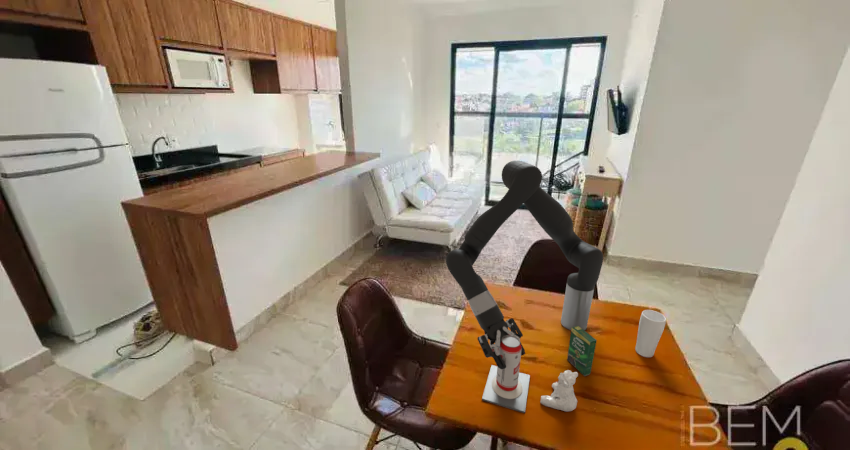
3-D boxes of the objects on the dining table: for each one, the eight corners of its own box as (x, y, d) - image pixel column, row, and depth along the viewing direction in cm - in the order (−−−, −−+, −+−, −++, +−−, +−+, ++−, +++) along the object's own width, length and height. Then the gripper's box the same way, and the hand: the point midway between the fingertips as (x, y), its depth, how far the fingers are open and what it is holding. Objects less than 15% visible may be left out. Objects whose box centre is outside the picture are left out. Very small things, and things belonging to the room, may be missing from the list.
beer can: (518, 380, 102) (523, 336, 97) (516, 395, 96) (521, 350, 91) (497, 374, 104) (501, 331, 99) (494, 390, 98) (498, 345, 93)
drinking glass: (659, 361, 110) (670, 323, 105) (636, 358, 111) (646, 320, 106) (650, 347, 116) (660, 310, 111) (629, 344, 117) (638, 308, 112)
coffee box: (565, 359, 111) (571, 326, 106) (572, 357, 112) (578, 324, 107) (583, 376, 104) (590, 342, 99) (590, 374, 105) (597, 340, 100)
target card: (491, 366, 108) (491, 364, 108) (529, 376, 104) (530, 374, 104) (481, 400, 96) (482, 397, 96) (524, 413, 92) (525, 411, 92)
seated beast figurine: (554, 384, 101) (559, 352, 97) (582, 402, 95) (589, 369, 91) (538, 402, 95) (542, 369, 91) (567, 422, 89) (573, 388, 85)
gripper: (475, 314, 93) (505, 371, 88) (508, 297, 101) (537, 348, 97) (461, 321, 99) (489, 375, 94) (494, 304, 107) (520, 352, 102)
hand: (513, 361), depth 95 cm, fingers open, 8 cm apart
